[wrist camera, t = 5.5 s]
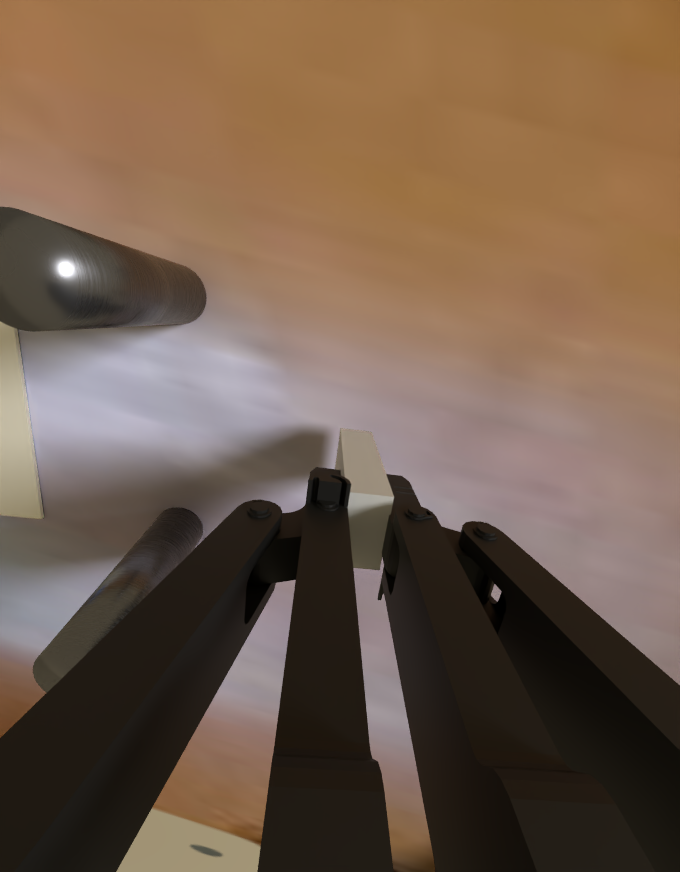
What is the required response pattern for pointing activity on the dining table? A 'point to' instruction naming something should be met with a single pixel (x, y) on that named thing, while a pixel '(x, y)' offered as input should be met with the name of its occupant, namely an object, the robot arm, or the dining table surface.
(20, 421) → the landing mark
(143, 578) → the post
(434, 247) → the dining table surface
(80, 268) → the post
